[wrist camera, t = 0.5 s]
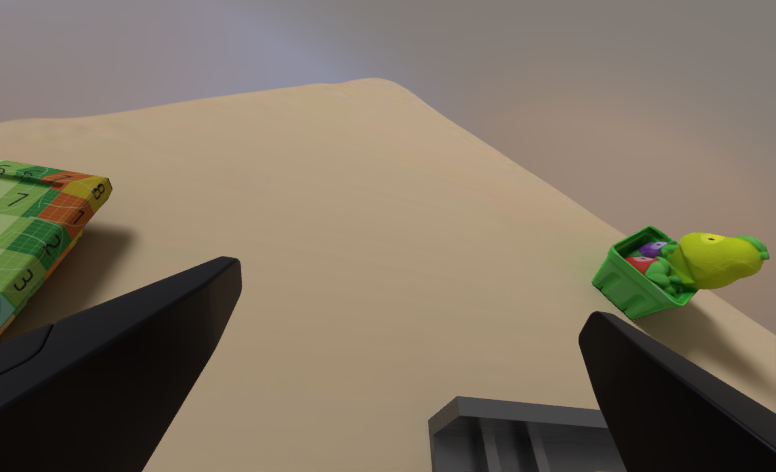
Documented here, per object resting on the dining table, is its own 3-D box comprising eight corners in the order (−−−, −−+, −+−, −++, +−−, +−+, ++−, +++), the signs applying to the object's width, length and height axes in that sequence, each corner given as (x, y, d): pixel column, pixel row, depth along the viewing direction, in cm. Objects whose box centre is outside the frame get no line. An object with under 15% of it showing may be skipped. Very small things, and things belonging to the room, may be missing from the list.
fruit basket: (619, 250, 43) (699, 181, 35) (684, 305, 39) (791, 241, 31) (575, 277, 37) (660, 200, 29) (647, 346, 33) (770, 278, 25)
